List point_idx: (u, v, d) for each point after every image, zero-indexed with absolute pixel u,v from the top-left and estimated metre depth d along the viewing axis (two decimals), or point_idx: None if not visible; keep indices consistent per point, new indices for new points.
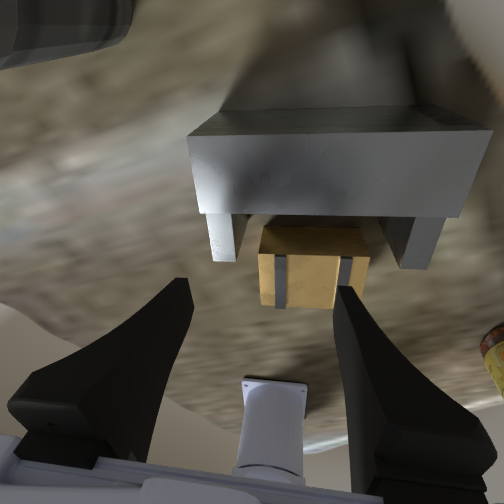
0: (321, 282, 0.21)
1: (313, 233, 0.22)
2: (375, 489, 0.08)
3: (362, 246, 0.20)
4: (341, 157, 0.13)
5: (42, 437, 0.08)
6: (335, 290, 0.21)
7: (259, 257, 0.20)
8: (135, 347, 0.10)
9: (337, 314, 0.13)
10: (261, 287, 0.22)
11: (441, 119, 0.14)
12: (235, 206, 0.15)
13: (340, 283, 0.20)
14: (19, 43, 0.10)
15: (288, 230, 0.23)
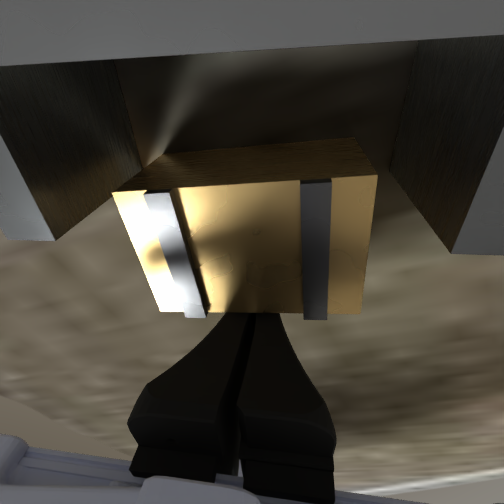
0: (267, 253, 0.09)
1: (253, 153, 0.10)
2: None
3: (357, 160, 0.08)
4: None
5: (156, 453, 0.08)
6: (302, 271, 0.09)
7: (118, 202, 0.09)
8: (237, 356, 0.09)
9: None
10: (148, 274, 0.10)
11: None
12: None
13: (310, 252, 0.09)
14: None
15: (205, 155, 0.11)
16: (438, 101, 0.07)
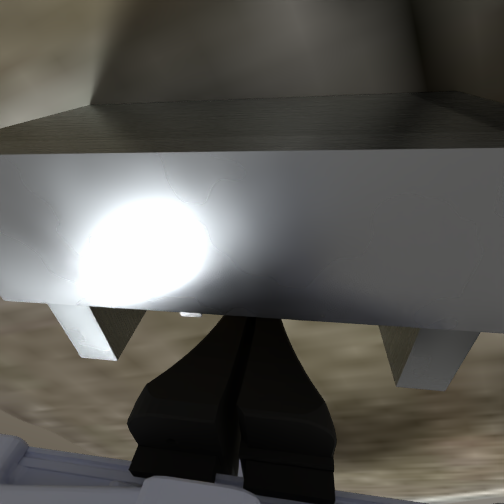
0: None
1: None
2: None
3: None
4: (251, 208, 0.05)
5: (156, 453, 0.08)
6: None
7: None
8: (236, 356, 0.09)
9: None
10: None
11: (487, 116, 0.06)
12: (62, 293, 0.08)
13: None
14: None
15: None
16: None
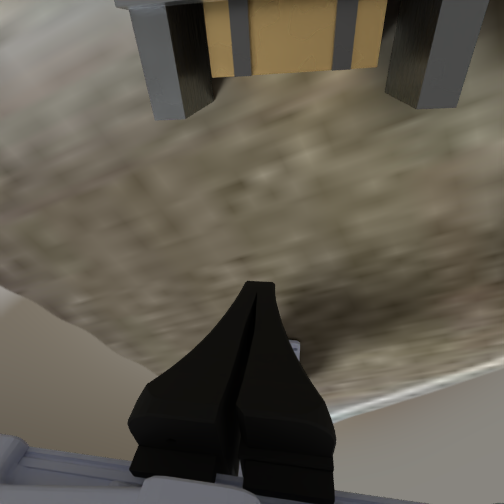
0: None
1: None
2: None
3: None
4: None
5: (156, 453, 0.08)
6: (336, 10, 0.12)
7: None
8: (237, 356, 0.09)
9: None
10: (208, 28, 0.13)
11: None
12: None
13: None
14: None
15: None
16: (411, 29, 0.13)
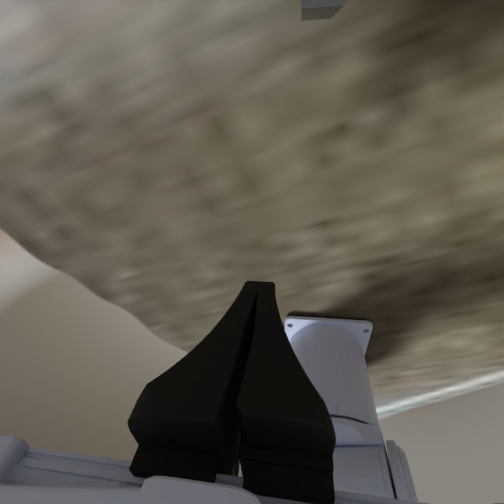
0: None
1: None
2: None
3: None
4: None
5: (156, 453, 0.08)
6: None
7: None
8: (237, 356, 0.09)
9: None
10: None
11: None
12: None
13: None
14: None
15: None
16: None
